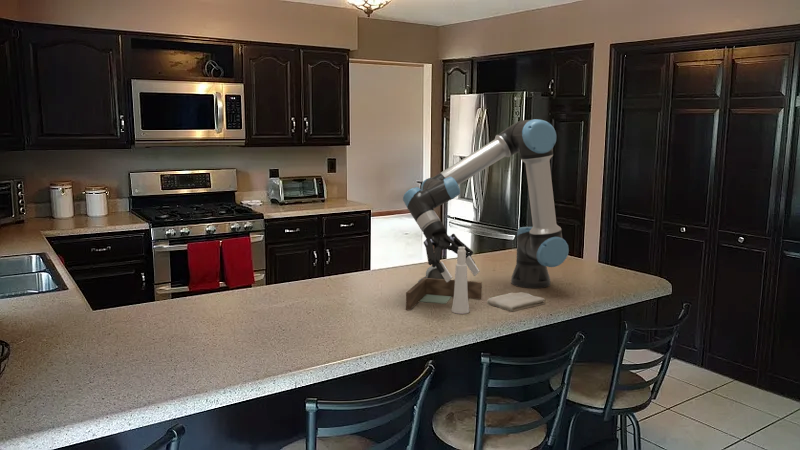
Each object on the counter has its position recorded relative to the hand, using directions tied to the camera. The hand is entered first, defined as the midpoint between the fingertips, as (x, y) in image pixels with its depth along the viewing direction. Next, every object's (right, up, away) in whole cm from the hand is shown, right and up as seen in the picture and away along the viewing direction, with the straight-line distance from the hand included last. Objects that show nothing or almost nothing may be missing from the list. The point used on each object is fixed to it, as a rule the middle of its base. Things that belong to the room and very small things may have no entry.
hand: (463, 276), depth 203 cm
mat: (-8, -10, +18) cm, 22 cm away
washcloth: (+20, -11, +12) cm, 26 cm away
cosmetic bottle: (-1, -12, +3) cm, 12 cm away
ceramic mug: (-8, -7, +39) cm, 41 cm away
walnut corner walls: (-5, -10, +12) cm, 17 cm away
